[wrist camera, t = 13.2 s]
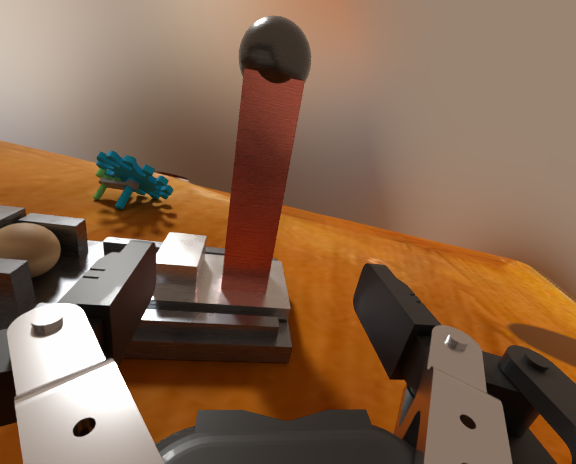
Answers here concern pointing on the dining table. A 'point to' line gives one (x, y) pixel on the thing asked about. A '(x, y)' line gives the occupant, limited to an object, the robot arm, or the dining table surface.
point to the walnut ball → (30, 246)
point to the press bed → (155, 323)
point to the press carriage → (246, 189)
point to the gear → (128, 178)
